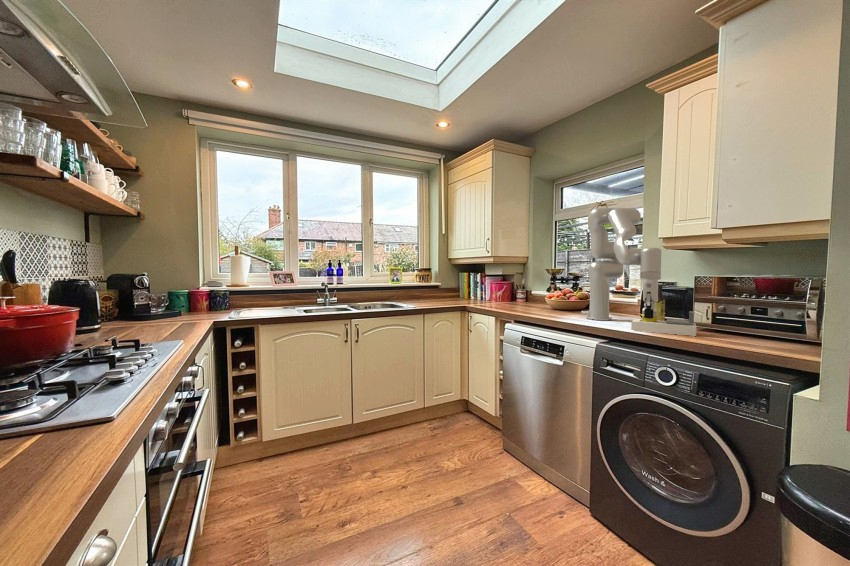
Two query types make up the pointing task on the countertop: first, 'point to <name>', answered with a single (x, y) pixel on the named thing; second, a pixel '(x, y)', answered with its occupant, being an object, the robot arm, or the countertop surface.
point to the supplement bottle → (653, 315)
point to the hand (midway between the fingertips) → (649, 317)
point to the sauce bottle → (660, 304)
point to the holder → (663, 327)
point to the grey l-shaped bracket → (682, 320)
